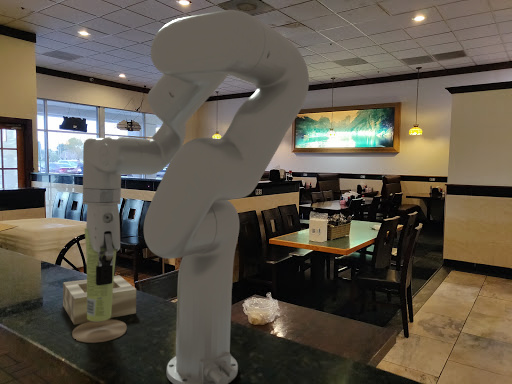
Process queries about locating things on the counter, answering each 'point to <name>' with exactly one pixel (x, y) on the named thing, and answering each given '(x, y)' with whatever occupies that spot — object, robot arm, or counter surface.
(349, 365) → the counter surface
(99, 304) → the tube
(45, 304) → the counter surface
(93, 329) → the disc
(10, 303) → the counter surface
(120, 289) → the socket block
